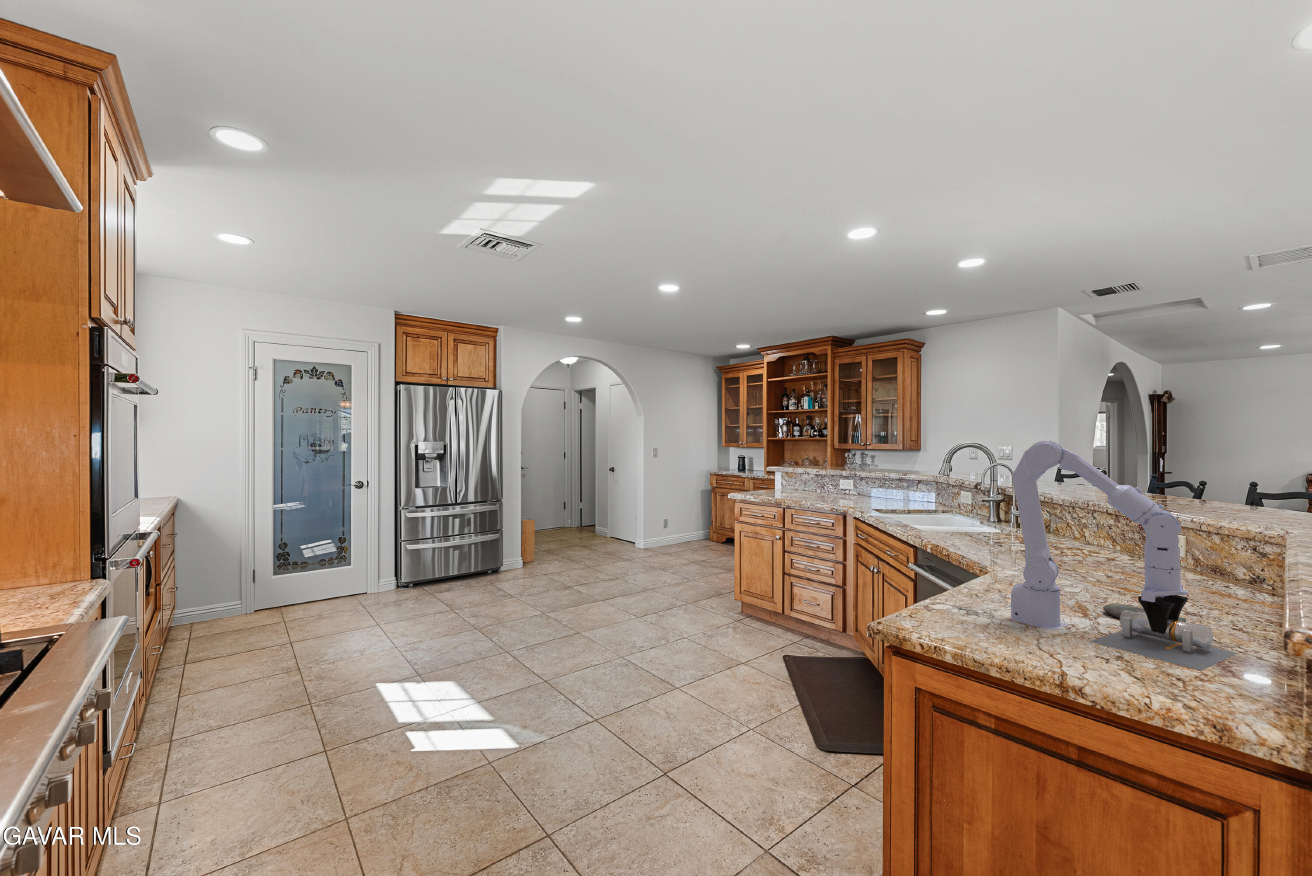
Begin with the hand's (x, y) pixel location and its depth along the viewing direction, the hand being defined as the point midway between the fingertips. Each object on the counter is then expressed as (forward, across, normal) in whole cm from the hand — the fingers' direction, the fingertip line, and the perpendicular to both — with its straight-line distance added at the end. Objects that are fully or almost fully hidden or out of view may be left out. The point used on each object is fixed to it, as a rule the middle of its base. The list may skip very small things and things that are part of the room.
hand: (1163, 630), depth 119 cm
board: (+3, -4, -1) cm, 5 cm away
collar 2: (+2, 0, -5) cm, 6 cm away
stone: (+4, +16, +10) cm, 19 cm away
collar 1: (+2, 0, +5) cm, 6 cm away
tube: (+2, 0, 0) cm, 2 cm away
